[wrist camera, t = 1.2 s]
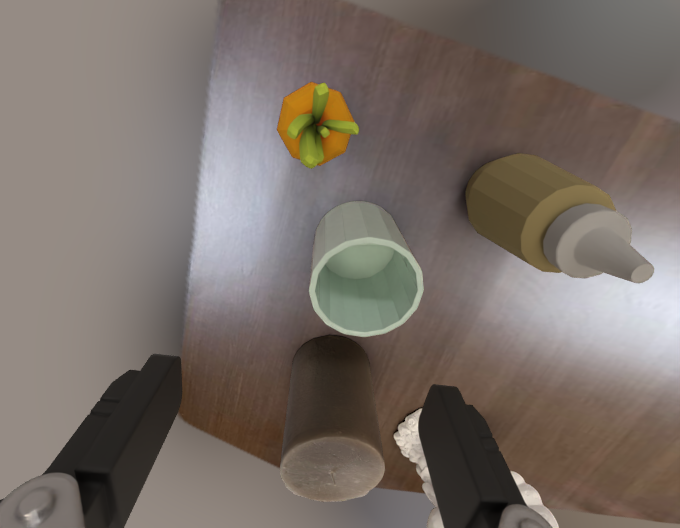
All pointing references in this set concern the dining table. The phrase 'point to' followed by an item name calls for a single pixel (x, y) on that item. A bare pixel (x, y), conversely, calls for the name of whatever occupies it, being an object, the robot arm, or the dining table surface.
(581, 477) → the dining table surface
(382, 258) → the tumbler
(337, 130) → the carrot
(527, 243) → the squeeze bottle
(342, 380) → the pillar candle
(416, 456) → the cherub figurine
